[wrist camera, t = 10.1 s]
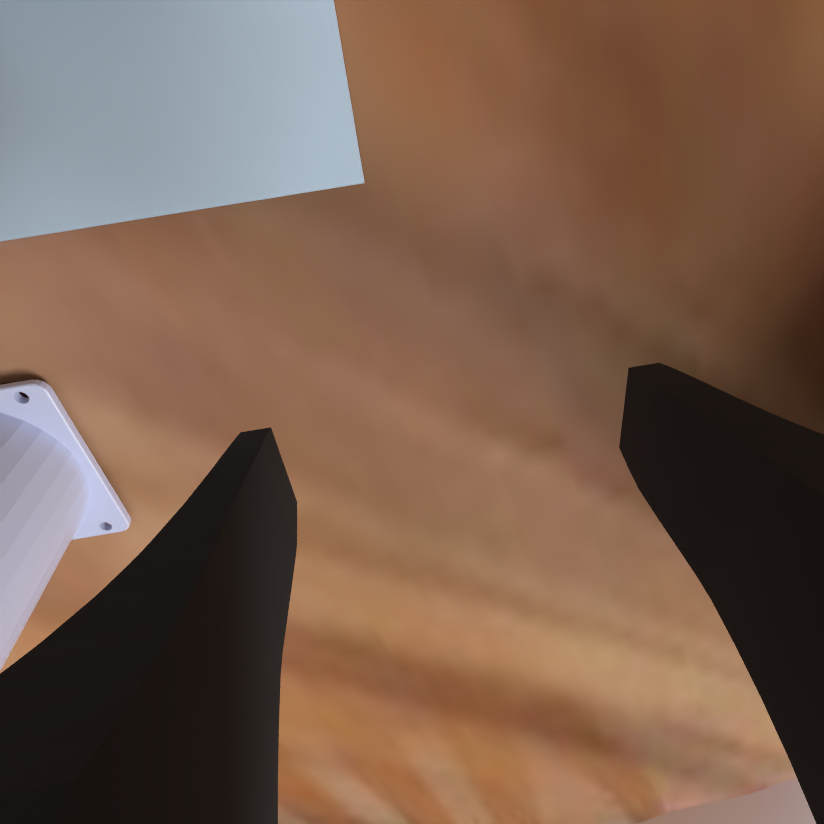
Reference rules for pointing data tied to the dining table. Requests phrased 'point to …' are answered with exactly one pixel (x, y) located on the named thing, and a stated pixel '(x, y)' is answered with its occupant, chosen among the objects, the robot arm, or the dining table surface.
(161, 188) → the base
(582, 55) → the dining table surface
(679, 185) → the dining table surface
